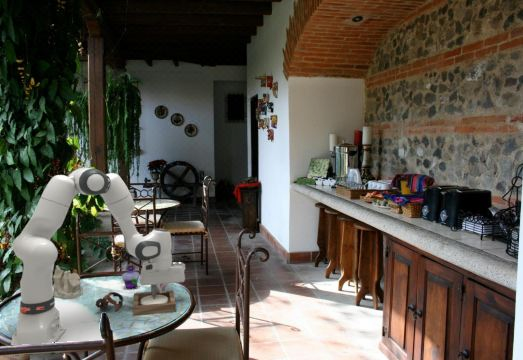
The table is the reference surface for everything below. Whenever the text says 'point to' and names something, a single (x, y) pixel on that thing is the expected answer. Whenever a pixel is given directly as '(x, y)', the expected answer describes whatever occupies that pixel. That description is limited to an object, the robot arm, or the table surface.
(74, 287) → the ceramic cottage
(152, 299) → the dial
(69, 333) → the table surface
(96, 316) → the table surface
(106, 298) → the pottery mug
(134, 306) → the square wooden tray
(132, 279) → the potion bottle
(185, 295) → the table surface
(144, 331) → the table surface
